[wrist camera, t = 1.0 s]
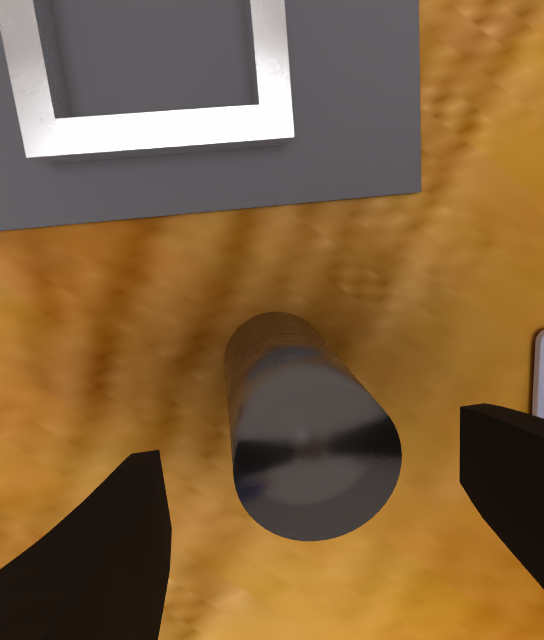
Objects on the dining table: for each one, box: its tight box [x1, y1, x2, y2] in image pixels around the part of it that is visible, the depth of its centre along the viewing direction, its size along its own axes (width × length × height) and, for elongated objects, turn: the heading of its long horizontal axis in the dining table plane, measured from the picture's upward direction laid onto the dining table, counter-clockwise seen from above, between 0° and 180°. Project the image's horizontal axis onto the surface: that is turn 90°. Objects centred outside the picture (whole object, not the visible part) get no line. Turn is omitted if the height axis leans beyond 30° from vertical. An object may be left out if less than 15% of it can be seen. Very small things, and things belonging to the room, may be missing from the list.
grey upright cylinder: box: [225, 312, 402, 541], centre depth 15 cm, size 4×4×8 cm
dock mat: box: [0, 0, 421, 231], centre depth 15 cm, size 18×12×1 cm, turn 95°
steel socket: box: [0, 0, 294, 164], centre depth 14 cm, size 8×8×2 cm
